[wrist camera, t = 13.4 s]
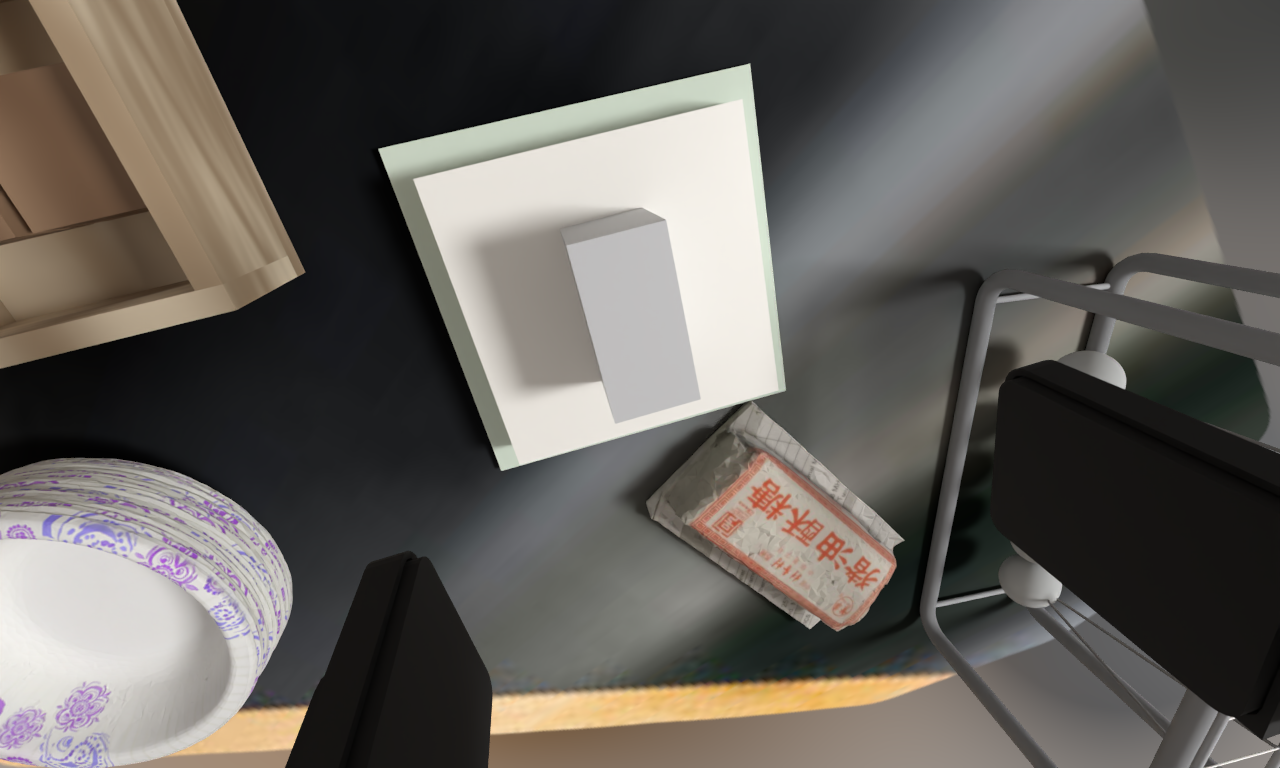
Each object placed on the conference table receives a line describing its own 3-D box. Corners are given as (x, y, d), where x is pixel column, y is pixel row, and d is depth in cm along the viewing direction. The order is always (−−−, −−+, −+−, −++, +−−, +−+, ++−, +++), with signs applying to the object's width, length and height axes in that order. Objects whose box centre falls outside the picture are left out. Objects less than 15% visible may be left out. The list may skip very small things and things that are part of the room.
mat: (746, 64, 27) (750, 63, 27) (783, 388, 35) (785, 390, 34) (380, 148, 26) (378, 148, 25) (501, 467, 33) (501, 470, 33)
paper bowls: (7, 634, 32) (-147, 777, 24) (-16, 397, 27) (-217, 490, 19) (302, 654, 36) (245, 781, 29) (329, 453, 31) (268, 545, 24)
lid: (724, 103, 27) (789, 87, 20) (761, 373, 33) (821, 431, 27) (423, 176, 26) (385, 186, 19) (520, 443, 32) (518, 521, 25)
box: (151, -50, 22) (-6, -133, 15) (305, 272, 27) (236, 309, 21) (-210, 20, 20) (-540, -38, 14) (26, 340, 26) (-137, 402, 20)
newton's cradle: (977, 263, 34) (1385, 365, 18) (1123, 246, 35) (1622, 326, 19) (913, 623, 46) (1120, 879, 30) (1024, 599, 47) (1278, 831, 31)
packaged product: (653, 548, 32) (776, 427, 30) (638, 500, 36) (745, 393, 35) (831, 666, 39) (939, 574, 37) (801, 615, 43) (896, 530, 42)
